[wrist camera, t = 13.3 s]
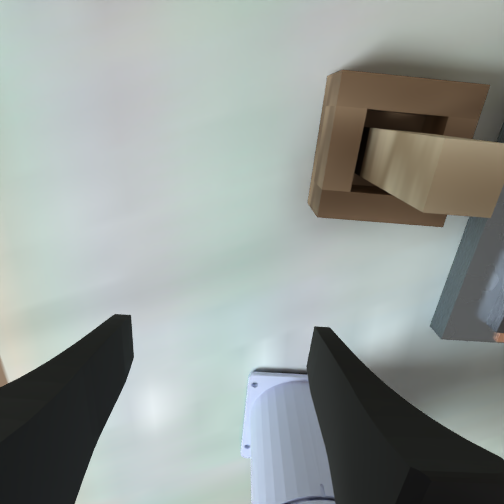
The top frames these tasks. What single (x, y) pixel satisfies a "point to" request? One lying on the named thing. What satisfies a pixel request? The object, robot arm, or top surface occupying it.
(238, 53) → the top surface
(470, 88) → the wooden square socket
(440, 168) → the wooden block
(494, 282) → the panel
